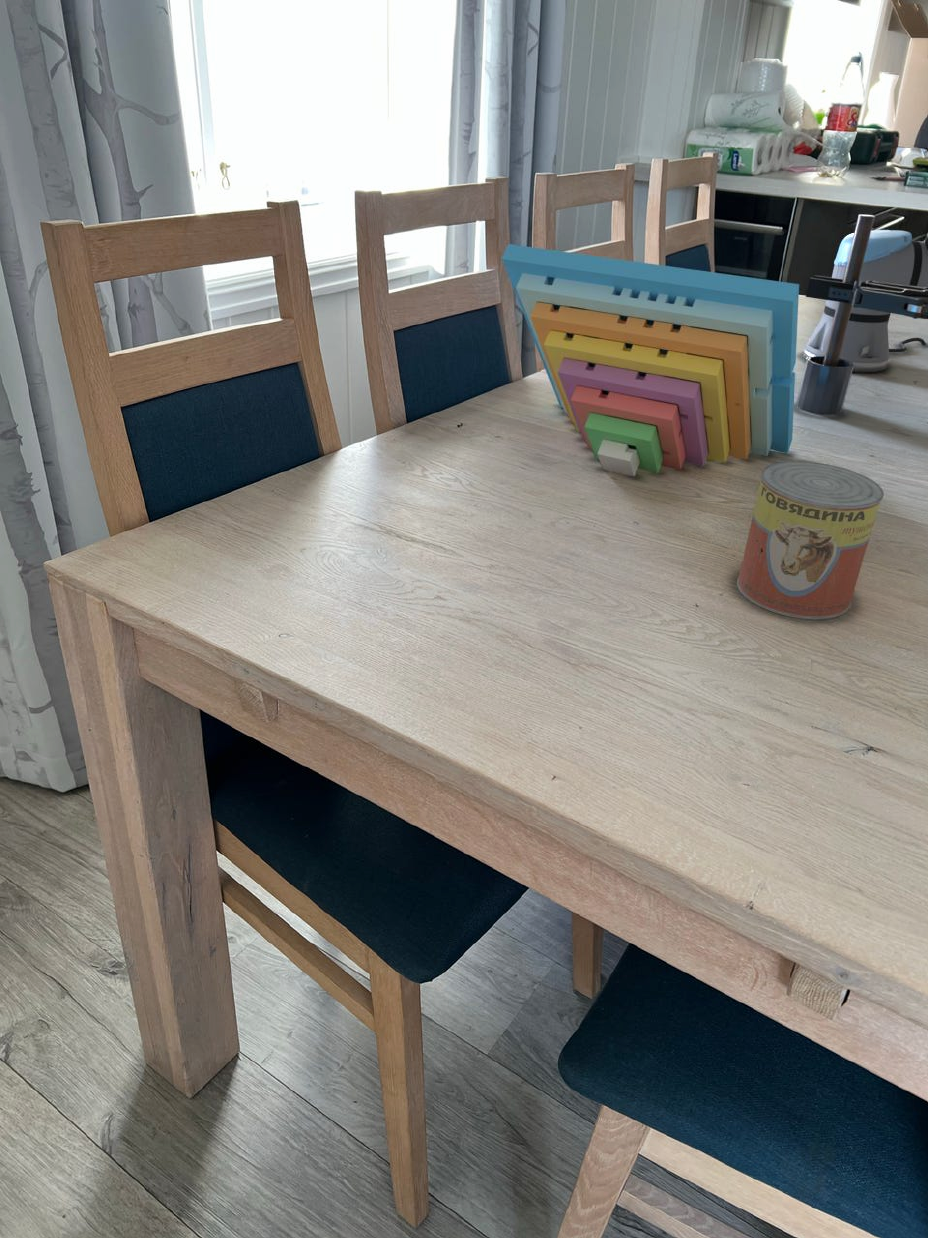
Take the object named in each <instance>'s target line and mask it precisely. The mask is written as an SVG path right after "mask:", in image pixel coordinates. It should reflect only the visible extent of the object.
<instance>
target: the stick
mask: <svg viewBox="0 0 928 1238" xmlns="http://www.w3.org/2000/svg"><path fill="white" fill-rule="evenodd" d="M875 218H876V216H875V215H873V214H858V217H857V220H856V224H855V229H854V232H853V233H854V237H853V241H852V245H851V249H850V253H849V257H848V262H847V266H846V270H845V274H844V278H843V282H845V283H852V284H854V283H855V281H859V277H860V273H861V269H862V265H863V261H864V257H865V253H866V249H867V245H868V242H869V238H870V234H871V231H873V230H872V229H873V225H874V221H875ZM851 309H852V304H850V303H843V302H838V303H837V307H836V311H835V315H834V319H833V324H832V328H831V332H830V336H829V340H828V344H827V348H826V352H825V357H824V361H823V365H825V366H832V367H837V365H838V361H839V357H840V353H841V349H842V345H843V341H844V337H845V333H846V329H847V325H848V321H849V317H850V313H851Z"/></svg>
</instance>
